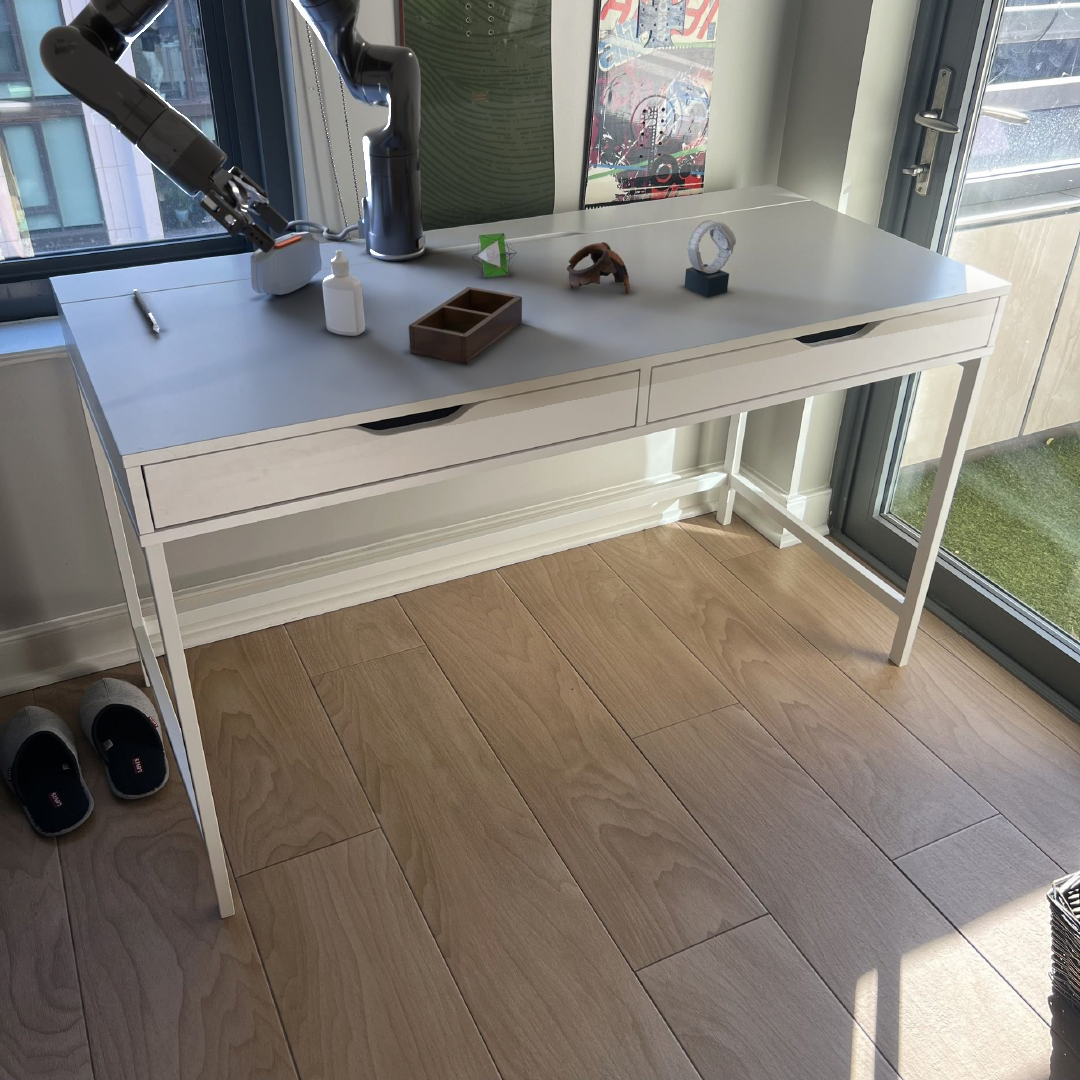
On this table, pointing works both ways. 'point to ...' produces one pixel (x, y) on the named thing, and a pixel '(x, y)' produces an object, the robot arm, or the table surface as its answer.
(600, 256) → the broken clay pot
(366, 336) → the table surface
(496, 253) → the geometric puzzle
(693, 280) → the watch
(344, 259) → the eye dropper bottle
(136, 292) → the pen
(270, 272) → the white plastic case
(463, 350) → the brown wooden divided tray
